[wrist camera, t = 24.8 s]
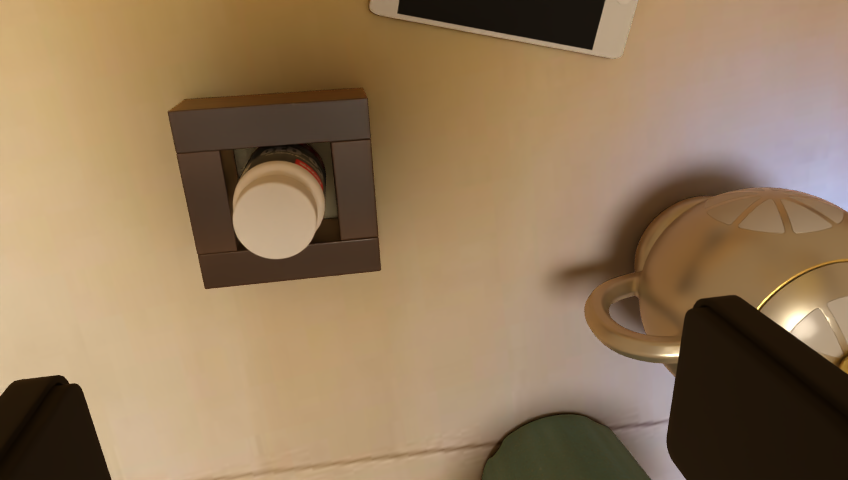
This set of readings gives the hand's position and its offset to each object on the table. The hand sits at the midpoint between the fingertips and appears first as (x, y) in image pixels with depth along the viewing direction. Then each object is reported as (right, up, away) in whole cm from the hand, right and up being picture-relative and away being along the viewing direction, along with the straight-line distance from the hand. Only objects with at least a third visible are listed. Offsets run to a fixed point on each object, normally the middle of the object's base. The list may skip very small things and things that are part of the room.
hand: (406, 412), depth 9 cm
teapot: (+18, +2, +33) cm, 38 cm away
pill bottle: (-8, +7, +27) cm, 29 cm away
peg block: (-8, +7, +27) cm, 29 cm away
